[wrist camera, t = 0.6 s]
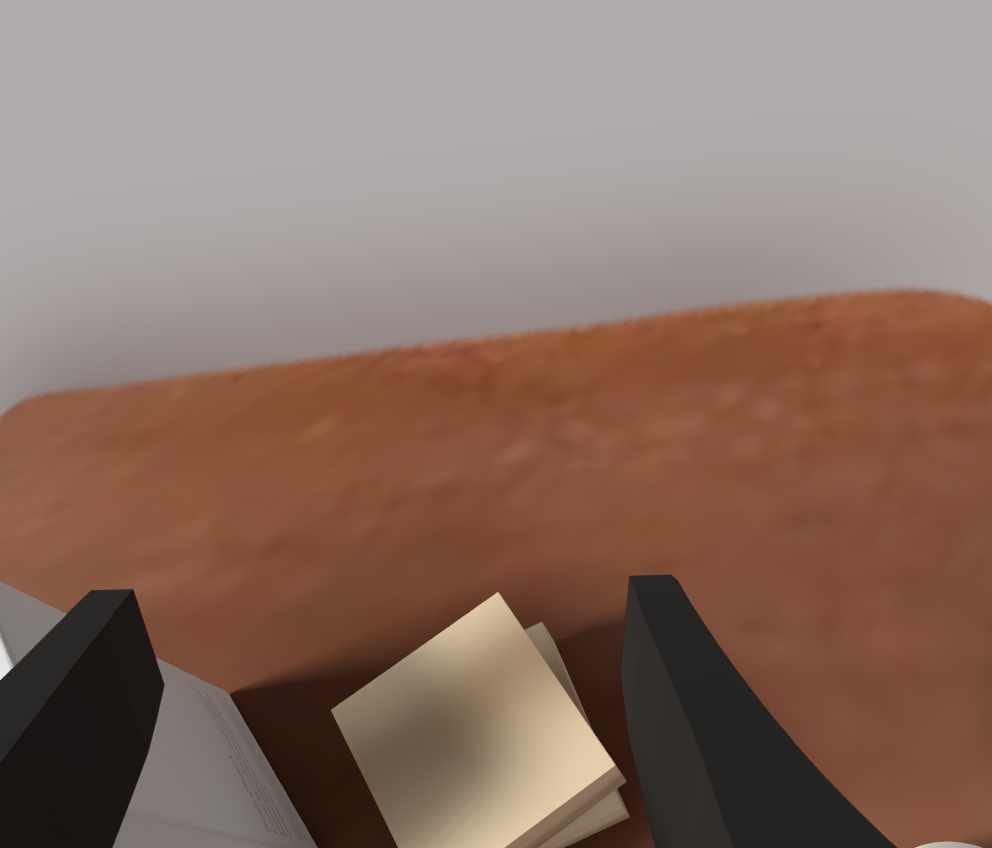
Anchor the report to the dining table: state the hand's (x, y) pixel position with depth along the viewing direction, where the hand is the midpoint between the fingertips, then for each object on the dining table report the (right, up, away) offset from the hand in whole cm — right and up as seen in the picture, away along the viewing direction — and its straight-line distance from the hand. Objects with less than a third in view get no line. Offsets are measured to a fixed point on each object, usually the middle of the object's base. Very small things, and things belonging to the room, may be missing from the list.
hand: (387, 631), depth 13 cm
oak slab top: (+1, -7, +13) cm, 15 cm away
